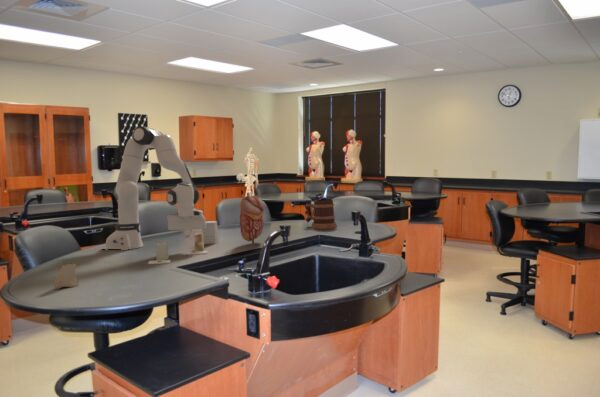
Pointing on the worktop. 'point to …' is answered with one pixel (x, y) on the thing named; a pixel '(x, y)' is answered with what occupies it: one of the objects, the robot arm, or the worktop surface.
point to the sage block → (162, 251)
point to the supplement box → (210, 232)
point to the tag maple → (197, 252)
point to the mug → (321, 213)
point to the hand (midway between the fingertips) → (187, 237)
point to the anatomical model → (251, 217)
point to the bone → (66, 276)
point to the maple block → (199, 242)
